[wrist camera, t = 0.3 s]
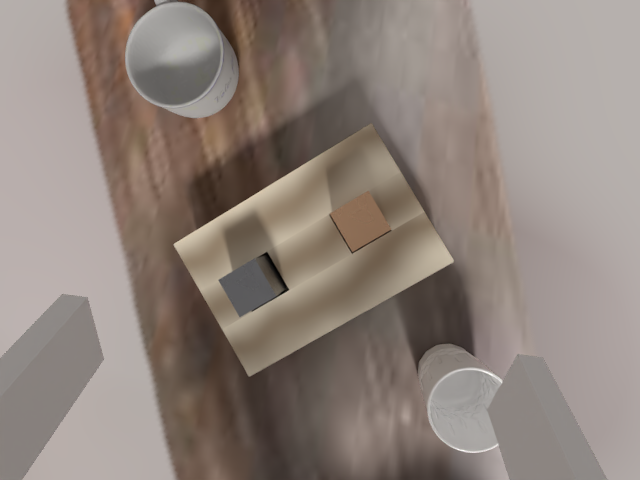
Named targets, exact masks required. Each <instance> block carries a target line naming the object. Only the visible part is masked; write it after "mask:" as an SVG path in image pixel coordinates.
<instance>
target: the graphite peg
mask: <svg viewBox="0 0 640 480" xmlns="http://www.w3.org/2000/svg"><path fill="white" fill-rule="evenodd" d="M218 281H219V282H220V284H221V286H222V288H223V289H224V291H225V293H226V295H227V296H228V298H229V300H230V302H231V303H232V305H233V307H234V308H235V310H236V312H237V314H238V315H239V317H241V316H243V315H245V314H247V313H248V312H250V311H252V310H254V309H255V308H257V307H259V306H260V305H262V304H264V303H266V302H267V301H269V300H271V299H272V298H274V297H276V296H277V295H279V294H280V293H281V292H282V291H284V290H285V289H286V288H287V285H286V283H285V282H284V280H283V278H282V276H281V275H280V273H279V271H278V270H277V268H276V266H275V264H274V263H273V261H272V259H271V257H270V256H269V255H266V256H262V257H258V258H254V259H253V260H251V261H249V262H247V263H246V264H244V265H242V266H241V267H239V268H237V269H236V270H234V271H232V272H231V273H229V274H227V275H226V276H224V277H222V278H221V279H219V280H218Z"/></svg>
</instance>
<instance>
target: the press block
mask: <svg viewBox="0 0 640 480" xmlns="http://www.w3.org/2000/svg"><path fill="white" fill-rule="evenodd" d="M367 191H369V192H370V194H371V196H372V197H373V199H374V201H375V202H376V204H377V206H378V207H379V209H380V211H381V213H382V214H383V216H384V218H385V219H386V221H387V223H388V224H389V226H390V228H391V230H390V231H388V232H386V233H384V234H383V235H381V236H379V237H378V238H376V239H374V240H372V241H371V242H369V243H367V244H365V245H364V246H362V247H360V248H359V249H357V250H355V251H353V252H352V251H351V249H350V247H349V246H348V244H347V242H346V240H345V239H344V237H343V235H342V234H341V232H340V230H339V229H338V227H337V225H336V223H335V222H334V220H333V218H332V217H331V215H330V213H332V212H333V211H335V210H337V209H338V208H340V207H342V206H343V205H345V204H347V203H348V202H350V201H352V200H353V199H355V198H357V197H358V196H360V195H362V194H363V193H365V192H367ZM173 245H174V246H175V248H176V250H177V252H178V253H179V255H180V257H181V259H182V260H183V262H184V264H185V266H186V267H187V269H188V271H189V273H190V274H191V276H192V278H193V280H194V281H195V283H196V285H197V287H198V288H199V290H200V292H201V294H202V295H203V297H204V299H205V301H206V302H207V304H208V306H209V308H210V309H211V311H212V313H213V315H214V316H215V318H216V320H217V322H218V323H219V325H220V327H221V329H222V330H223V332H224V334H225V336H226V337H227V339H228V341H229V343H230V344H231V346H232V348H233V350H234V351H235V353H236V355H237V357H238V358H239V360H240V362H241V364H242V365H243V367H244V369H245V371H246V372H247V374H248V376H249V377H250V376H252V375H254V374H255V373H257V372H259V371H261V370H262V369H264V368H266V367H268V366H270V365H271V364H273V363H275V362H277V361H278V360H280V359H282V358H284V357H286V356H287V355H289V354H291V353H293V352H294V351H296V350H298V349H300V348H302V347H303V346H305V345H307V344H309V343H310V342H312V341H314V340H316V339H318V338H319V337H321V336H323V335H325V334H326V333H328V332H330V331H332V330H334V329H335V328H337V327H339V326H341V325H342V324H344V323H346V322H348V321H350V320H351V319H353V318H355V317H357V316H358V315H360V314H362V313H364V312H366V311H367V310H369V309H371V308H373V307H374V306H376V305H378V304H380V303H382V302H383V301H385V300H387V299H389V298H390V297H392V296H394V295H396V294H398V293H399V292H401V291H403V290H405V289H406V288H408V287H410V286H412V285H414V284H415V283H417V282H419V281H421V280H422V279H424V278H426V277H428V276H430V275H431V274H433V273H435V272H437V271H438V270H440V269H442V268H444V267H446V266H447V265H449V264H451V263H453V262H454V260H453V259H452V257H451V255H450V254H449V252H448V250H447V249H446V247H445V245H444V243H443V242H442V240H441V238H440V237H439V235H438V233H437V232H436V230H435V228H434V227H433V225H432V223H431V222H430V220H429V218H428V217H427V215H426V213H425V212H424V210H423V208H422V207H421V205H420V203H419V202H418V200H417V198H416V197H415V195H414V193H413V192H412V190H411V188H410V186H409V185H408V183H407V181H406V180H405V178H404V176H403V175H402V173H401V171H400V170H399V168H398V166H397V165H396V163H395V161H394V160H393V158H392V156H391V155H390V153H389V151H388V150H387V148H386V146H385V145H384V143H383V141H382V140H381V138H380V136H379V135H378V133H377V131H376V129H375V128H374V126H373V124H372V123H370V124H369V125H367V126H366V127H364V128H362V129H361V130H359V131H357V132H356V133H354V134H353V135H351V136H349V137H348V138H346V139H344V140H343V141H341V142H339V143H338V144H336V145H335V146H333V147H331V148H330V149H328V150H326V151H325V152H323V153H322V154H320V155H318V156H317V157H315V158H313V159H312V160H310V161H308V162H307V163H305V164H304V165H302V166H300V167H299V168H297V169H295V170H294V171H292V172H291V173H289V174H287V175H286V176H284V177H282V178H281V179H279V180H277V181H276V182H274V183H273V184H271V185H269V186H268V187H266V188H264V189H263V190H261V191H260V192H258V193H256V194H255V195H253V196H251V197H250V198H248V199H246V200H245V201H243V202H242V203H240V204H238V205H237V206H235V207H233V208H232V209H230V210H229V211H227V212H225V213H224V214H222V215H220V216H219V217H217V218H215V219H214V220H212V221H211V222H209V223H207V224H206V225H204V226H202V227H201V228H199V229H198V230H196V231H194V232H193V233H191V234H189V235H188V236H186V237H184V238H183V239H181V240H180V241H178V242H176V243H175V244H173ZM266 255H269V256H270V257H271V259H272V261H273V263H274V264H275V266H276V268H277V270H278V271H279V273H280V275H281V276H282V278H283V280H284V282H285V283H286V285H287V287H288V289H286V290H284V291H283V292H281V293H280V294H279V295H277V296H276V297H274V298H272V299H271V300H269V301H267V302H266V303H264V304H262V305H260V306H259V307H257V308H255V309H254V310H252V311H250V312H248V313H247V314H245V315H243V316H241V317H239V315H238V314H237V312H236V310H235V308H234V307H233V305H232V303H231V302H230V300H229V298H228V296H227V295H226V293H225V291H224V289H223V288H222V286H221V284H220V282H219V281H218V280H219V279H221V278H222V277H224V276H226V275H227V274H229V273H231V272H232V271H234V270H236V269H237V268H239V267H241V266H242V265H244V264H246V263H247V262H249V261H251V260H253V259H254V258H258V257H262V256H266Z"/></svg>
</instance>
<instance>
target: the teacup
mask: <svg viewBox="0 0 640 480" xmlns="http://www.w3.org/2000/svg"><path fill="white" fill-rule="evenodd" d="M154 1H155V4H156V7H154V8H152V9H151V10H150V11H148V12H147V13H146V14H145V15H143V16H142V17H141V18H140V19H139V20H138V21H137V23H136V24H135V25H134V27H133V29H132V31H131V33H130V35H129V38H128V41H127V45H126V52H125V63H126V69H127V73H128V76H129V79H130V81H131V83H132V85H133V86H134V88H135V89H136V90H137V92H138V93H139V94H140V95H141V96H142V97H143V98H145V99H146V100H147V101H149V102H151V103H152V104H154V105H157V106H160V107H163V108H165V109H167V110H169V111H171V112H173V113H176V114H178V115H181V116H185V117H189V118H203V117H207V116H210V115H213V114H215V113H217V112H218V111H220V110H221V109H223V108H224V107H225V106H226V105H227V103H228V102H229V101H230V100H231V98H232V96H233V95H234V93H235V90H236V87H237V83H238V77H239V69H238V62H237V58H236V55H235V53H234V50H233V48H232V47H231V45H230V43H229V42H228V40H227V39H226V37H225V36H224V35H223V33H222V32H221V31H220V29H219V28H218V26H217V25H216V23H215V22H214V20H213V19H212V18H211V16H210V15H209V14H208V13H206V12H205V11H204V10H202V9H201V8H199V7H198V6H196V5H193V4H190V3H186V2H178V0H154Z"/></svg>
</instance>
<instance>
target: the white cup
mask: <svg viewBox="0 0 640 480" xmlns="http://www.w3.org/2000/svg"><path fill="white" fill-rule="evenodd" d="M418 378H419V381H420V389H421V393H422V397H423V401H424V405H425V408H426V411H427V415H428V419H429V422H430V425H431V427H432V429H433V430H434V432H435V433H436V435H437V436H438V437H439V438H440V439H441V440H442V441H443V442H444V443H445V444H447V445H448V446H450V447H452V448H454V449H456V450H459V451H463V452H469V453H478V452H484V451H487V450H490V449H492V448H494V447H496V446H498V442H497V439H496V436H495V433H494V429H493V426H492V423H491V420H490V417H489V414H488V411H487V409H488V407H489V405H490V403H491V402H492V400H493V398H494V396H495V394H496V393H497V391H498V389H499V387H500V385H501V384H502V382H503V380H502V379H501V378H499V377H498V376H497V375H496V374H495V373H494V372H492V371H491V370H490V369H489V368H488V367H487V366H486V365H485V364H483V363H482V362H481V361H479V360H478V359H477V358H476V357H474V356H473V355H471V354H470V353H468V352H467V351H466V350H465V349H464V348H462V347H459V346H456V345H453V344H440V345H436V346H434V347H432V348H431V349H429V350H428V351H426V352H425V354H424V355H423V357H422V358H421V360H420V362H419V367H418Z"/></svg>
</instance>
